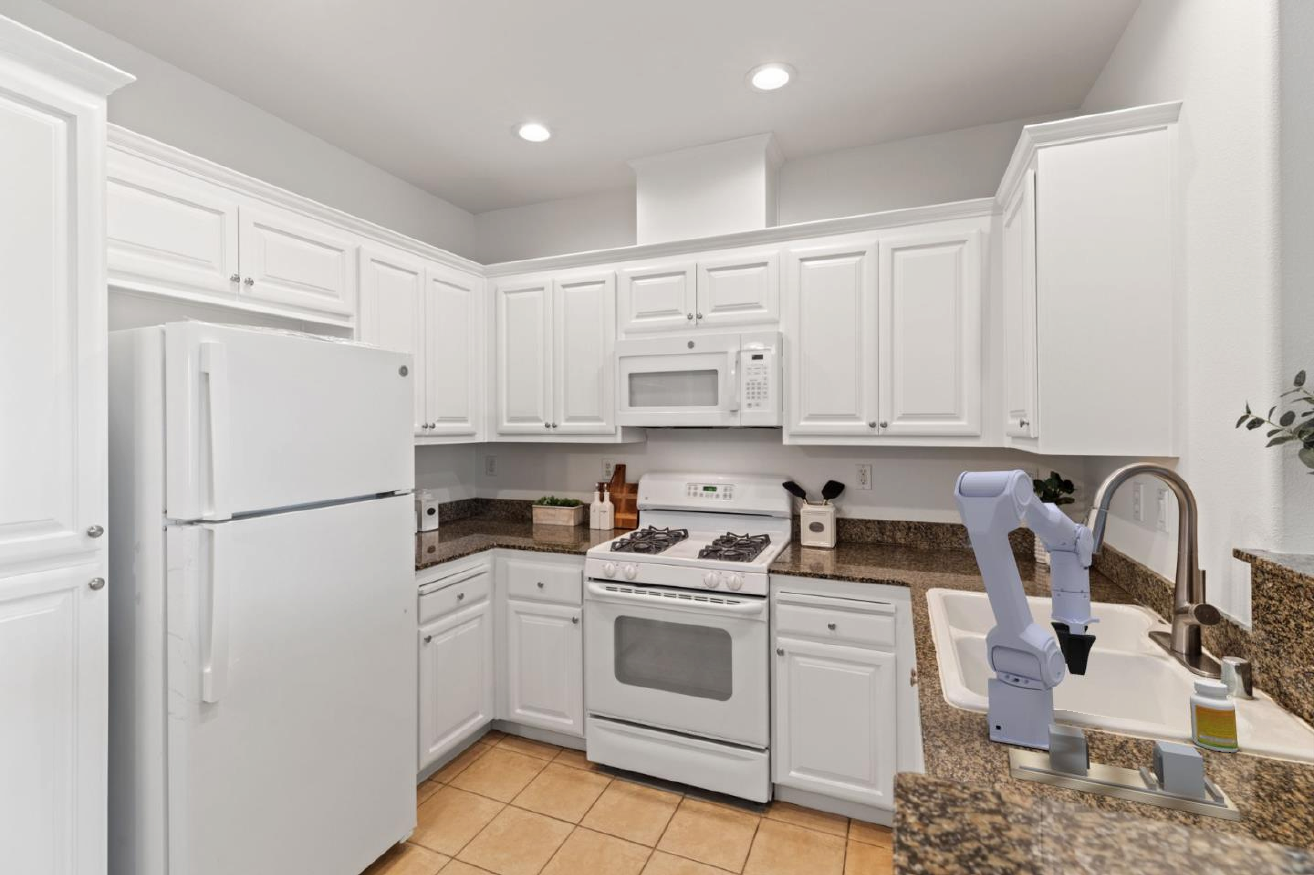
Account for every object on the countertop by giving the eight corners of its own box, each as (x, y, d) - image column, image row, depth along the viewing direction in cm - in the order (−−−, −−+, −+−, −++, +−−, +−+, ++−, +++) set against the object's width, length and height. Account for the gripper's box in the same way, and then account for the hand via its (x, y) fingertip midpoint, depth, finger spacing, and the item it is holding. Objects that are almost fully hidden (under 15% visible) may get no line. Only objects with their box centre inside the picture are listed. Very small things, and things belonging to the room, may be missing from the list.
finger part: (1161, 790, 79) (1158, 750, 80) (1153, 778, 83) (1151, 739, 83) (1205, 799, 77) (1202, 757, 78) (1195, 786, 81) (1193, 746, 81)
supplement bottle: (1247, 755, 94) (1242, 689, 95) (1206, 751, 95) (1202, 686, 96) (1222, 741, 99) (1218, 679, 100) (1184, 738, 100) (1180, 677, 101)
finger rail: (1011, 776, 85) (1009, 730, 86) (1009, 756, 92) (1007, 713, 93) (1240, 822, 74) (1236, 768, 75) (1218, 794, 81) (1214, 745, 82)
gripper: (1104, 598, 101) (1109, 683, 100) (1091, 587, 114) (1095, 662, 113) (1054, 594, 104) (1058, 676, 103) (1046, 584, 117) (1049, 657, 116)
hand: (1074, 669), depth 108 cm, fingers open, 7 cm apart
